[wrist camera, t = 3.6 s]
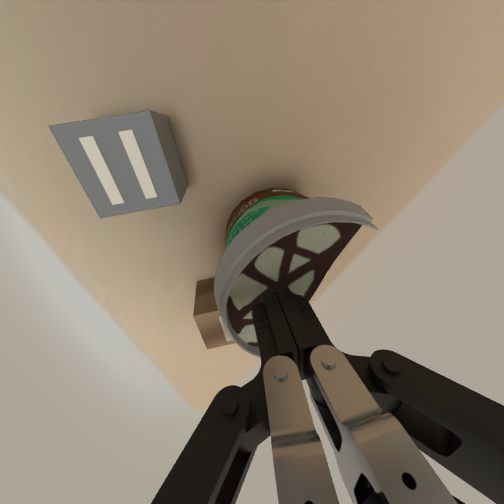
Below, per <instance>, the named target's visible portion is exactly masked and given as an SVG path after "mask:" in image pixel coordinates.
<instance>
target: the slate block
mask: <svg viewBox="0 0 504 504" xmlns="http://www.w3.org/2000/svg"><path fill="white" fill-rule="evenodd" d="M49 128H50V130H51V132H52V133H53V135H54V137H55V139H56V140H57V142H58V144H59V146H60V148H61V149H62V151H63V153H64V155H65V156H66V158H67V160H68V162H69V164H70V165H71V167H72V169H73V171H74V173H75V174H76V176H77V178H78V180H79V181H80V183H81V185H82V187H83V189H84V190H85V192H86V194H87V196H88V197H89V199H90V201H91V203H92V205H93V206H94V208H95V210H96V212H97V213H98V215H99V217H100V218H105V217H111V216H116V215H122V214H127V213H132V212H138V211H143V210H149V209H154V208H160V207H165V206H171V205H176V204H180V203H181V201H182V198H183V196H184V194H185V191H186V189H187V187H188V185H187V181H186V178H185V174H184V171H183V168H182V164H181V161H180V157H179V154H178V151H177V147H176V144H175V141H174V137H173V134H172V130H171V127H170V124H169V120H168V117H167V116H166V115H163V114H160V113H156V112H153V111H143V112H136V113H129V114H123V115H116V116H110V117H103V118H97V119H90V120H83V121H77V122H70V123H64V124H57V125H50V126H49Z"/></svg>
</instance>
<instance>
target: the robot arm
mask: <svg viewBox="0 0 504 504" xmlns="http://www.w3.org/2000/svg"><path fill="white" fill-rule="evenodd" d="M261 296H262V303H260V304H255V305H254V306H253V310H252V318H253V323H254V328H255V333H256V338H257V342H258V347H259V352H260V357H261V368H260V371H259V373H258V374H257V376H256V377H255V378H254V379H253V380H252V381H250V382H249V383H247V384H245V385H244V386H243V387H238V386H235V385H231V386H227V387H225V388H223V389H222V390H220V391H219V392H218V393H217V395H216V396H215V397H214V399H213V401H212V403H211V404H210V406H209V408H208V409H207V411H206V413H205V414H204V416H203V418H202V419H201V421H200V423H199V424H198V426H197V428H196V429H195V431H194V433H193V434H192V436H191V438H190V439H189V441H188V443H187V444H186V446H185V448H184V449H183V451H182V453H181V454H180V456H179V458H178V459H177V461H176V463H175V464H174V466H173V468H172V469H171V471H170V473H169V474H168V476H167V478H166V479H165V481H164V483H163V484H162V486H161V488H160V489H159V491H158V493H157V494H156V496H155V498H154V499H153V501H152V503H151V504H235V503H236V500H237V497H238V495H239V492H240V490H241V487H242V484H243V482H244V479H245V477H246V474H247V472H248V469H249V467H250V464H251V461H252V459H253V456H254V454H255V451H256V448H257V446H258V445H259V444H260V443H262V442H263V441H264V440H265V439H267V438H268V437H269V436H270V435H271V443H272V453H273V462H274V469H275V477H276V485H277V493H278V501H279V504H339V501H338V498H337V495H336V491H335V488H334V484H333V481H332V477H331V474H330V470H329V467H328V463H327V460H326V456H325V453H324V449H323V446H322V443H321V440H320V438H319V436H318V434H317V433H316V430H315V427H314V424H313V420H312V417H311V413H310V410H309V406H308V402H307V399H306V395H305V391H304V388H303V384H302V381H301V380H305V379H306V380H307V383H308V386H309V388H310V398H311V400H312V403H313V405H314V407H315V410H316V412H317V414H318V416H319V419H320V421H321V423H322V425H323V428H324V430H325V432H326V435H327V437H328V439H329V441H330V444H331V446H332V448H333V451H334V453H335V456H336V460H337V464H338V468H339V471H340V474H341V476H342V479H343V481H344V483H345V486H346V488H347V491H348V493H349V495H350V498H351V500H352V502H353V504H465V503H463V502H462V501H460V500H459V499H457V498H456V497H454V496H452V495H451V494H450V492H449V491H448V490H447V488H446V487H445V485H444V484H443V482H442V481H441V480H440V478H439V477H438V475H437V474H436V473H435V471H434V470H433V469H432V467H431V466H430V464H429V463H428V461H427V460H426V459H425V457H424V456H423V454H422V453H421V452H420V451H419V450H421V451H422V452H424V453H425V454H427V455H428V456H429V457H431V458H432V459H434V460H435V461H436V462H438V463H439V464H441V465H442V466H444V467H445V468H446V469H448V470H449V471H451V472H452V473H454V474H455V475H456V476H458V477H459V478H461V479H462V480H464V481H465V482H466V483H468V484H469V485H471V486H472V487H473V488H475V489H477V490H478V491H479V492H481V493H482V494H484V495H485V496H486V497H488V498H489V499H491V500H492V501H493V502H495V503H496V504H504V406H503V405H501V404H499V403H497V402H495V401H493V400H491V399H489V398H487V397H484V396H483V395H481V394H479V393H477V392H475V391H473V390H470V389H468V388H467V387H464V386H462V385H460V384H458V383H456V382H454V381H452V380H450V379H448V378H446V377H444V376H442V375H440V374H438V373H436V372H434V371H432V370H430V369H428V368H426V367H424V366H422V365H420V364H418V363H416V362H413V361H412V360H410V359H408V358H406V357H404V356H402V355H400V354H397V353H395V352H393V351H389V350H377V351H375V352H374V353H373V354H372V355H371V357H365V356H353V355H349V354H346V353H343V352H341V351H340V350H338V349H337V348H336V347H335V346H334V345H333V344H332V343H331V341H330V339H329V338H328V336H327V334H326V332H325V330H324V329H323V327H322V325H321V323H320V322H319V320H318V318H317V317H316V314H315V313H314V311H313V310H312V307H311V305H310V304H309V302H308V300H306V299H305V298H304V297H303V296H301V295H296V296H293V295H292V293H291V291H290V289H289V287H286V288H282V289H277V290H275V291H274V290H273V291H268V292H263V293H261Z"/></svg>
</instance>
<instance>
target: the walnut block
mask: <svg viewBox="0 0 504 504" xmlns="http://www.w3.org/2000/svg"><path fill="white" fill-rule="evenodd" d="M214 281H215V278H211V279H206V280H201V281H197V286H196V296H195V305H194V315H193V316H194V319H195V321H196V324H197V326H198V328H199V331H200V333H201V336H202V338H203V340H204V343H205V345H206V348H207V349H211V348H215V347H220V346H224V345H228V344H233V343H236V342H235V341H234V340H233V339H232V337H231V336H230V334H229V332H228V331H227V330H226V328H225V326H224V324H223V322H222V320H221V317H220V314H219V310H218V307H217V304H216V300H215V296H214Z"/></svg>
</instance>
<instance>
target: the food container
mask: <svg viewBox="0 0 504 504" xmlns="http://www.w3.org/2000/svg"><path fill="white" fill-rule="evenodd" d="M372 220H373V218H372V217H371V216H370V215H369V214H368V213H367V212H366V211H365V210H364V209H363V208H362V207H361V206H359V205H357V204H354V203H352V202H350V201H346V200H341V199H336V198H320V197H317V198H308V197H306V196H303V195H301V194H299V193H296V192H293V191H291V190H288V189H276V188H271V189H267V190H263V191H259V192H256V193H254V194H253V195H251V196H249V197H248V198H246V199H245V200H243V201H242V202H241V203H240V204H239V205H238V206H237V207H236V208H235V210H234V211H233V213H232V214H231V216H230V218H229V221H228V224H227V229H226V249H225V252H224V254H223V256H222V257H221V260H220V262H219V265H218V268H217V270H216V275H215V281H214V296H215V300H216V304H217V307H218V310H219V314H220V317H221V320H222V322H223V324H224V326H225V328H226V330H227V331H228V332H229V334H230V336H231V337H232V339H233V340H234V341H235V342H236V344H237V345H239V346H240V347H241V348H242V349H243V350H245V351H246V352H248V353H250V354H252V355H254V356H257V357H259V358H261V357H260V352H259V347H258V342H257V338H256V333H255V328H254V323H253V318H252V310H253V306H254V305H255V304H260V303H262V296H261V293H263V292H268V291H273V290H274V291H275V290H277V289H282V288H286V287H289V289H290V291H291V293H292V295H293V296H296V295H301V296H303V297H304V298H305V299H306V300H308V301H309V300H310V299H311V297H312V296H313V294H314V293H315V291H316V290H317V288H318V287H319V285H320V283H321V281H322V280H323V278H324V276H325V275H326V273H327V271H328V270H329V268H330V267H331V265H332V264H333V262H334V261H335V259H336V258H337V257H338V256H339V254H340V253H341V252H342V250H343V249H344V248H345V246H346V245H347V244H348V242H349V241H350V240H351V239H352V237H353V236H354V235H355V234H356V232H357V231H358V230H359V229H360V227H361V226H362V225H366V226H369V227H372V228H374V229H378V228H377V227H376V226H374V225H373V224H371V222H372Z"/></svg>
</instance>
